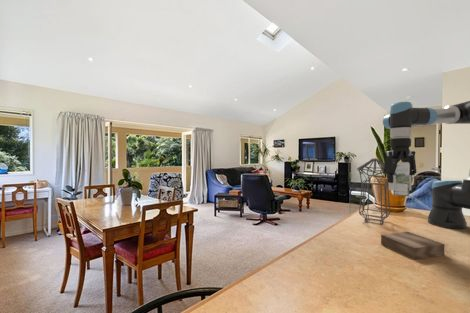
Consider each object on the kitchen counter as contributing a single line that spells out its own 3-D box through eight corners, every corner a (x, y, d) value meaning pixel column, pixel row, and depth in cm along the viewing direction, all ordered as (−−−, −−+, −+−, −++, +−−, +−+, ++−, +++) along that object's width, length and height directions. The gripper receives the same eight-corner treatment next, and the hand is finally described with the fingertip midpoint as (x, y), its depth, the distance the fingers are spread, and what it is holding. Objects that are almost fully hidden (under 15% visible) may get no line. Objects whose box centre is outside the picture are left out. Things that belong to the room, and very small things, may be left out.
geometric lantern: (392, 221, 128) (393, 158, 127) (388, 228, 116) (389, 159, 115) (361, 215, 138) (361, 157, 137) (354, 222, 127) (355, 158, 125)
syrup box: (406, 194, 103) (406, 161, 103) (409, 196, 98) (409, 162, 98) (391, 193, 106) (391, 161, 106) (393, 195, 100) (393, 162, 100)
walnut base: (408, 241, 99) (408, 231, 99) (444, 255, 85) (444, 244, 85) (381, 244, 96) (381, 234, 96) (414, 259, 82) (414, 248, 82)
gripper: (411, 138, 107) (410, 188, 108) (373, 138, 103) (373, 189, 103) (427, 137, 100) (427, 190, 100) (388, 137, 96) (387, 192, 96)
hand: (400, 189), depth 102 cm, fingers closed on syrup box, 8 cm apart
